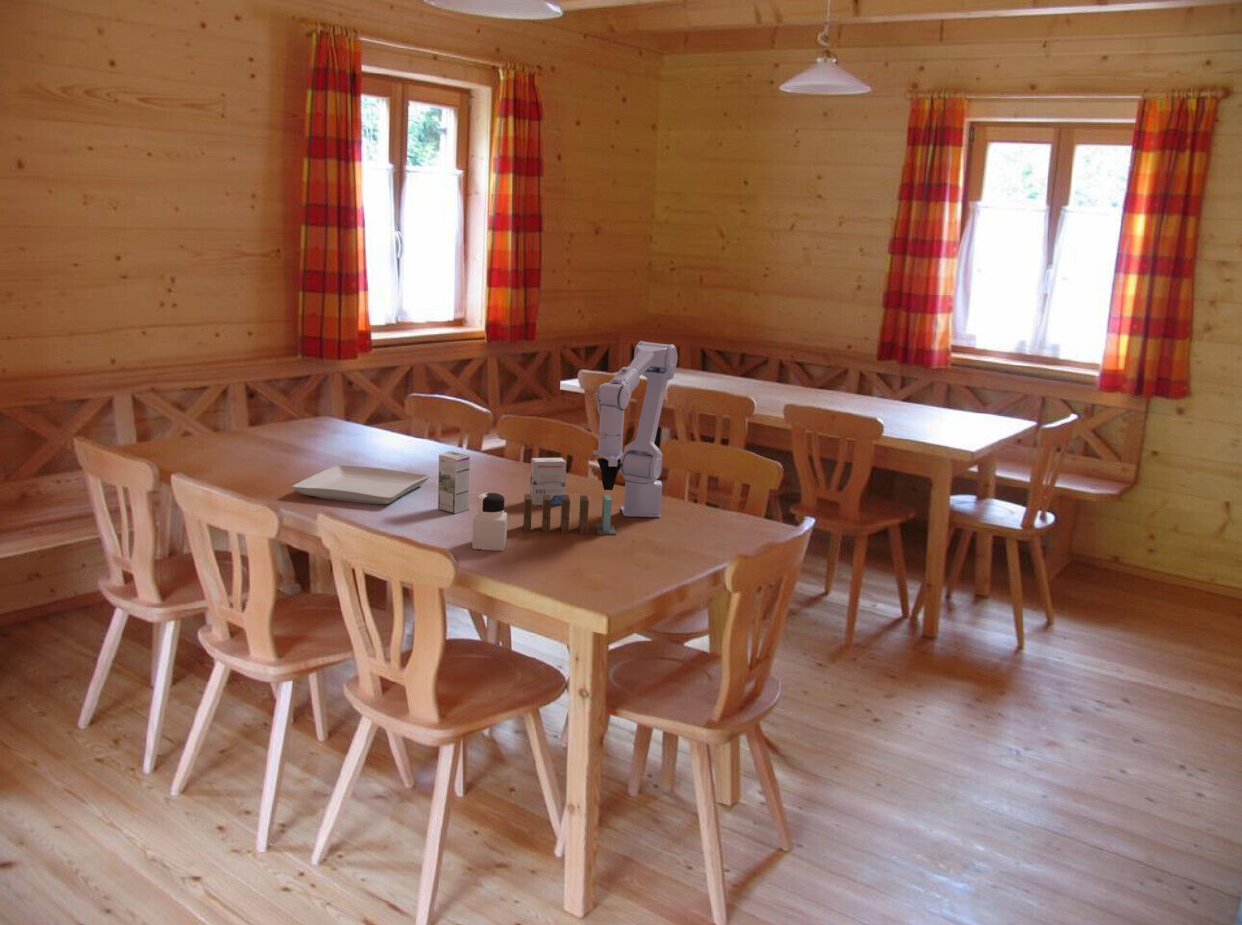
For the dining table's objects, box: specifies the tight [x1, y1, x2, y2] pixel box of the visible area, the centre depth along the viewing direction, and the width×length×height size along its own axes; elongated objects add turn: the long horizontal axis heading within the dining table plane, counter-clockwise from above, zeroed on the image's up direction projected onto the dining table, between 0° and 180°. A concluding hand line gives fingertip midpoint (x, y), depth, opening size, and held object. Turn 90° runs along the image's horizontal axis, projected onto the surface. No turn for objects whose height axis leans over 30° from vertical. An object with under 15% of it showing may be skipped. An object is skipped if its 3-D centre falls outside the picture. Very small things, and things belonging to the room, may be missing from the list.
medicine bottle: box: [471, 492, 508, 552], centre depth 247 cm, size 7×7×12 cm
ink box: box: [529, 457, 567, 506], centre depth 286 cm, size 9×5×12 cm, turn 105°
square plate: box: [291, 464, 431, 505], centre depth 287 cm, size 27×27×4 cm
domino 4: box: [578, 495, 590, 534], centre depth 264 cm, size 2×5×8 cm, turn 7°
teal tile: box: [600, 493, 612, 532], centre depth 264 cm, size 2×5×8 cm, turn 7°
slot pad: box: [594, 524, 617, 536], centre depth 265 cm, size 4×7×1 cm, turn 7°
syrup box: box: [437, 451, 471, 514], centre depth 274 cm, size 6×6×14 cm
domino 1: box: [522, 493, 533, 533], centre depth 262 cm, size 2×5×8 cm, turn 7°
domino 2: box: [541, 494, 552, 533], centre depth 263 cm, size 2×5×8 cm, turn 7°
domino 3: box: [560, 494, 571, 534], centre depth 263 cm, size 2×5×8 cm, turn 7°
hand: (607, 488), depth 263 cm, fingers closed
